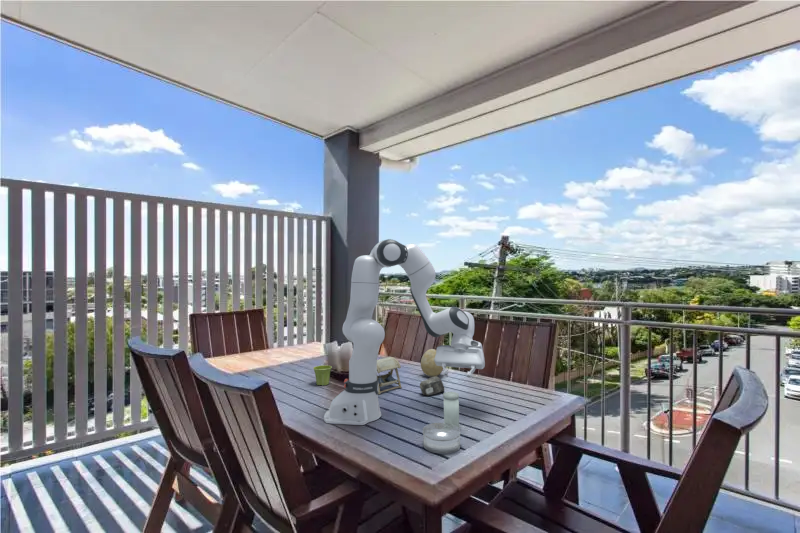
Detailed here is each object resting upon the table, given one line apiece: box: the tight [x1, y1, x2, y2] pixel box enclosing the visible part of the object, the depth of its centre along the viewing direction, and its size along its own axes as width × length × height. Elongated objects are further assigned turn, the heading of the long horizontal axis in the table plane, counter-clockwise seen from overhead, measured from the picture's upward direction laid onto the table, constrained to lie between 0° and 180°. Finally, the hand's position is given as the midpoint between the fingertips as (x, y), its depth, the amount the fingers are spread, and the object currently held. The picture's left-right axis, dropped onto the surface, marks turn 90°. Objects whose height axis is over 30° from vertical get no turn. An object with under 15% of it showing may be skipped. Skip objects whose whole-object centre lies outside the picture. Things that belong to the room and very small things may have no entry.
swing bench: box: [377, 356, 402, 396], centre depth 183 cm, size 15×10×15 cm, turn 134°
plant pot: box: [312, 364, 333, 387], centre depth 193 cm, size 9×9×9 cm
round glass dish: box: [422, 422, 462, 455], centre depth 122 cm, size 12×12×5 cm
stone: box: [419, 376, 445, 396], centre depth 176 cm, size 14×8×10 cm, turn 137°
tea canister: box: [442, 391, 460, 428], centre depth 137 cm, size 6×6×12 cm
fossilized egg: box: [420, 348, 444, 378], centre depth 205 cm, size 13×13×15 cm
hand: (457, 375), depth 147 cm, fingers open, 8 cm apart
